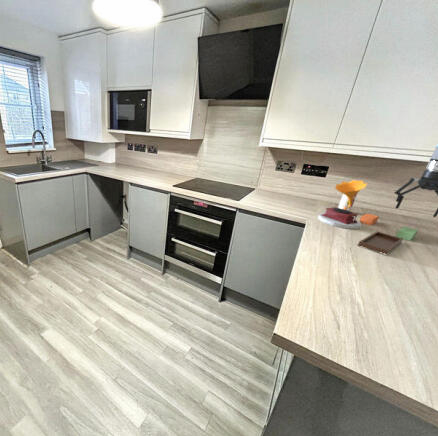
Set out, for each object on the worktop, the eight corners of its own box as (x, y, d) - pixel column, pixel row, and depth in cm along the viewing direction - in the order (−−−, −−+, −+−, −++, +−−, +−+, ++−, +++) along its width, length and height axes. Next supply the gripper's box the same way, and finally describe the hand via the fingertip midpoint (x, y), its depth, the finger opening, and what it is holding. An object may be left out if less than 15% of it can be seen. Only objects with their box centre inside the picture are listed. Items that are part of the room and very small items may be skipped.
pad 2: (400, 233, 129) (404, 226, 128) (414, 237, 125) (418, 230, 124) (395, 236, 124) (399, 229, 123) (410, 241, 120) (413, 234, 118)
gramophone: (332, 214, 152) (346, 176, 143) (368, 227, 135) (387, 184, 125) (310, 217, 145) (323, 177, 136) (345, 230, 128) (363, 186, 118)
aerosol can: (343, 213, 156) (355, 183, 149) (334, 209, 163) (345, 181, 155) (352, 213, 157) (364, 184, 150) (343, 209, 164) (354, 181, 156)
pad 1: (364, 219, 147) (367, 213, 146) (376, 222, 143) (379, 216, 142) (359, 222, 142) (361, 215, 141) (370, 225, 138) (373, 219, 136)
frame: (401, 243, 117) (403, 239, 116) (385, 255, 104) (387, 250, 103) (375, 235, 125) (376, 231, 124) (357, 245, 111) (359, 241, 111)
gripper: (398, 166, 120) (380, 205, 128) (478, 176, 101) (451, 222, 109) (402, 165, 124) (385, 203, 132) (479, 175, 105) (453, 219, 113)
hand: (414, 212), depth 120 cm, fingers open, 13 cm apart
